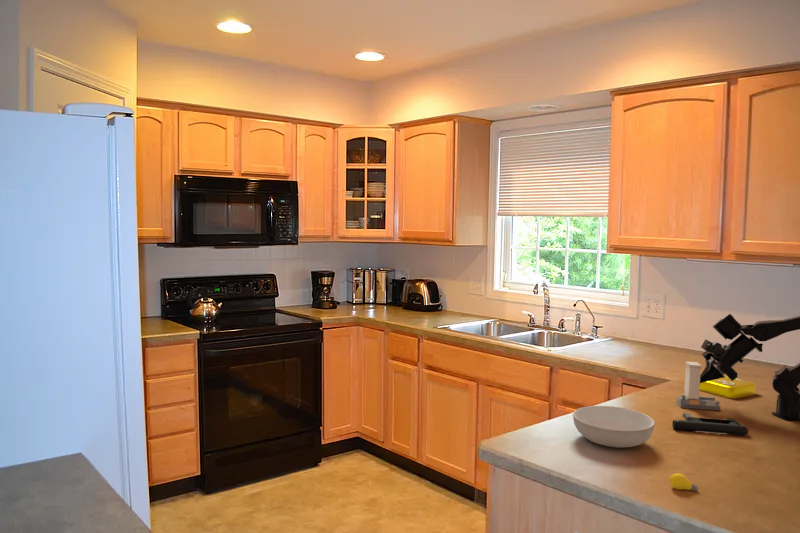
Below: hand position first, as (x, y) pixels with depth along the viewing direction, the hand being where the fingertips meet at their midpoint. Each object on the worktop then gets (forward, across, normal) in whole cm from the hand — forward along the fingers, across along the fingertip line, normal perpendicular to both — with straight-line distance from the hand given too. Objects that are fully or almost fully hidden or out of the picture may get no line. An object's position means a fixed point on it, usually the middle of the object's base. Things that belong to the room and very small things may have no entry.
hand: (698, 381), depth 202 cm
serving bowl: (+29, +41, -17) cm, 54 cm away
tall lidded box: (+6, 0, +4) cm, 7 cm away
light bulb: (+21, +69, -10) cm, 73 cm away
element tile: (-5, -23, +18) cm, 30 cm away
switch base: (+6, 0, +6) cm, 8 cm away
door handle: (+9, +21, +4) cm, 23 cm away
